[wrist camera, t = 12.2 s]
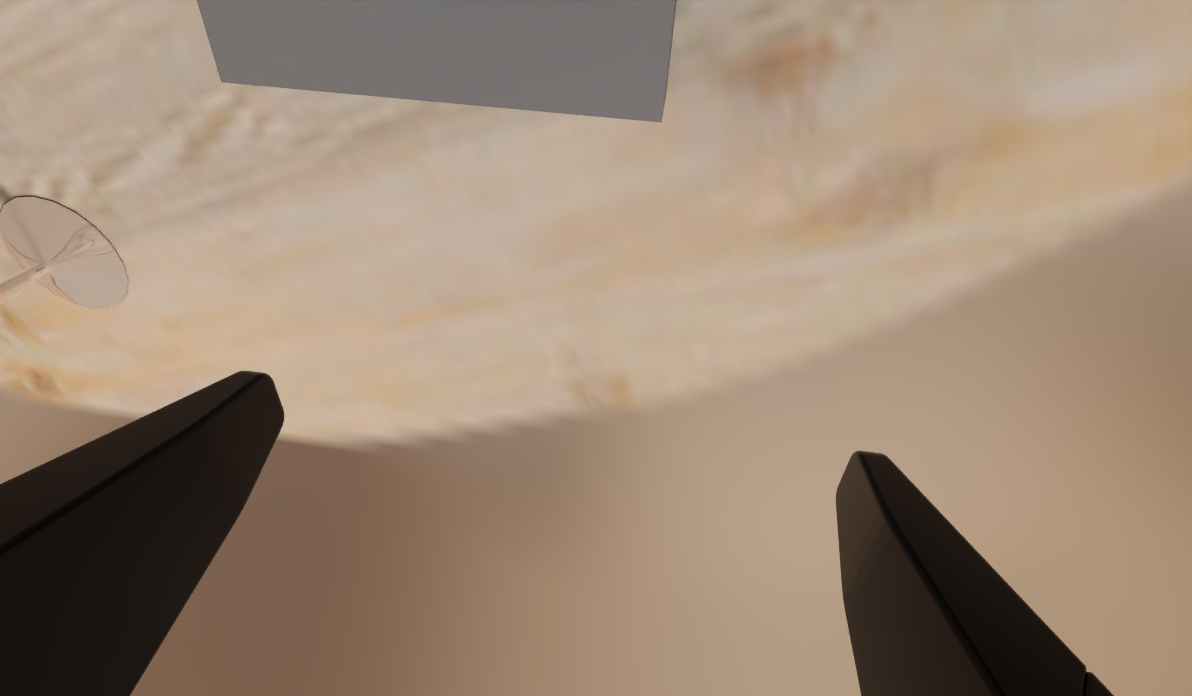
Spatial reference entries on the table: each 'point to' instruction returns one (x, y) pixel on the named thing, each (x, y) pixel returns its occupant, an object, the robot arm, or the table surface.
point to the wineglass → (60, 254)
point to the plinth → (455, 51)
